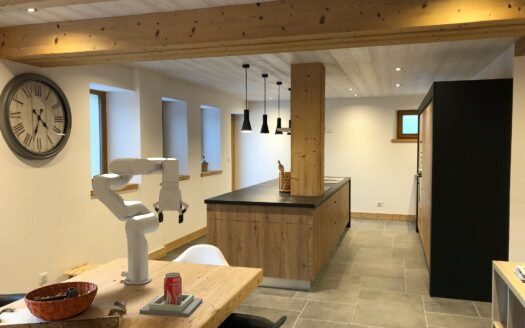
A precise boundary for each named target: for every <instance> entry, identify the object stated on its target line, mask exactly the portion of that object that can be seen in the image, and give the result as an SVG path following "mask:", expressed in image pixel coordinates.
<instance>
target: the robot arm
mask: <svg viewBox="0 0 525 328" xmlns="http://www.w3.org/2000/svg"><path fill="white" fill-rule="evenodd" d="M108 170H109V172H110V173H104V174H99V175H97V176H96V177H94V178H93V180H92V182H91V187H92V188H91V189H92V192H93V194H94V196H95V197H96V199H97V200H98V201H99V202H100V203H102V204H103V205H104V206H105V207H106V208H107V209H108V210H109V211H110V213H112V214H113V216H114V217H116V219H117V220H118V221H121V222H125V224H124V230H125V231H124V232H125V234H126V235H125V236H126V240H127V241H126V242H127V271H124V270H123V271H121V273H120V276H121V277H125V278H124V283H125V284H127V285H131V286H132V285H133V286H137V285H143V284H147V283H150V282H152V279H153V277H152V276H151V275H149V273H150V272H149V243H148V240H147V237H146V236H145V235H148V234H150V233H154V232H156V231H157V230H158V229H159V228H160V223H163V222H164V213H163V212H164V211H167V212H168V211H169V212H170V211H171V212H175V211H176V212H177V213H178V214H179V215H178V224H183V222H184V214H185V213H186V212H187V211H188V209H189V207H190V205H189V204H188V203H187V202H184V201H183V198H182V197H183V195H182V189H181V187H180V163H179V159H178V158H165V157H147V158H146V157H145V158H138V157H121V158H120V157H119V158H118V157H117V158H115V159H113V160H111V161H110V162H109V163H108ZM141 175H142V176H144V175H145V176H147V175H161V182H159V186H160V187H161V188H160V189H159V194H158V200H157V202H155V203H152V207H153V208H154V211H155V212H156V214H157V215H158V216H157V215H156V214H155V212H153V211H152V209H150V208H149V206H148V205H147V204H145V203H144V202H142V201H140V200H132V201H131V200H130V201H128V200H126V199H124V198H123V196H121V194H119V193H118V192H115V191H119V190H122V189H125V187H127V186H128V184H129V183H130V181H131V180H132V179H133V178H134V177H135V176H141ZM183 206H184V208H183Z"/></svg>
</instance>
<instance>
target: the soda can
mask: <svg viewBox="0 0 525 328" xmlns="http://www.w3.org/2000/svg"><path fill="white" fill-rule="evenodd" d="M182 283H183V282H182V277H181V274H180V272H173V271H172V272H168V273H166V274H165V277H164V279H163V293H164V302H165V304H171V305H179V304H180V303H181V302H182V294H183V286H182Z"/></svg>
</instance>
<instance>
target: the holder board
mask: <svg viewBox="0 0 525 328" xmlns="http://www.w3.org/2000/svg"><path fill="white" fill-rule="evenodd" d="M202 302H203V298H196V297H195V295H194V294H191V293H182V302H181V303H180V304H179V305H171V304H165V302H164V292H163V293H161V294H160V295H157V296H156V297H154V298H153V299H152V300H151V301H149V302H148V303H146V305H144V306H143V307H142V308H140V309H139V314H148V315H163V316H175V317H177V316H178V317H190V315H191V314H192V313H193V312H194V311H195V310H196V309H197V308H198V307H199V306H200V305H201V303H202Z"/></svg>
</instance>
